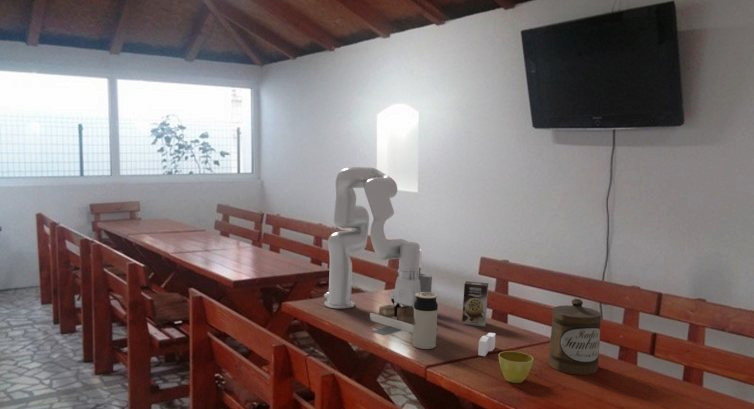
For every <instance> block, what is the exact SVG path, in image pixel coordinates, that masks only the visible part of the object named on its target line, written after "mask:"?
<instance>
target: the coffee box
mask: <svg viewBox="0 0 754 409" xmlns="http://www.w3.org/2000/svg"><path fill="white" fill-rule="evenodd" d="M463 287H464V288H463V301H462V302H463V304H462V315H461V316H462V318H461V324H463V325H468V326H478V327H486V323H487V310H488V309H487V306H488V305H487V304H488V293H489V283H488V282H479V281H470V280H469V281H467V280H466V281H465V282H464V285H463Z"/></svg>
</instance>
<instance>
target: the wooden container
mask: <svg viewBox="0 0 754 409" xmlns="http://www.w3.org/2000/svg"><path fill="white" fill-rule="evenodd" d="M583 302H584V301H583V300H581V298H574V299H572V300H571V305H567V304H566V305H557V306H555V307H553V308H552V314H551V315H552V321H551V329H550V330H551V332H550V342H549V355H548V356H549V358H548V364H549V366H550V367H551V368H553V369H554V370H556V371H558V372H562V373H565V374H570V375H578V376H580V375H582V376H583V375H585V376H586V375H592V374H595V373H597V371H598V368H599V355H600V354H599V353H600V339H601V320H602V314H601V312H600V311H598V310H596V309H594V308H591V307H590V308H589V307H586V306H583V304H584V303H583Z"/></svg>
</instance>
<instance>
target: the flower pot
mask: <svg viewBox="0 0 754 409" xmlns="http://www.w3.org/2000/svg"><path fill="white" fill-rule="evenodd" d="M498 360H499V361H498V362H499V367H500V370H501V372H502V375H503V377H504V379H505V381H507V382H509V383H513V384H521V383H523V382H524V380H526V378H527V377H528V375H529V373H530V372H531V369H532V367H533V366H532V365H533V364H534V357H533V356H532V355H530V354H528V353H525V352H521V351H512V350H506V351H501V352H499V353H498Z"/></svg>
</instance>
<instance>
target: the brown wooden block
mask: <svg viewBox="0 0 754 409" xmlns="http://www.w3.org/2000/svg"><path fill="white" fill-rule="evenodd" d="M413 315H414V308H413V306H412V307H409V306H404V307H402V306H401V307H399V308H397V320H398V321H402V322H405V323H409V324H412V325H413Z"/></svg>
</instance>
